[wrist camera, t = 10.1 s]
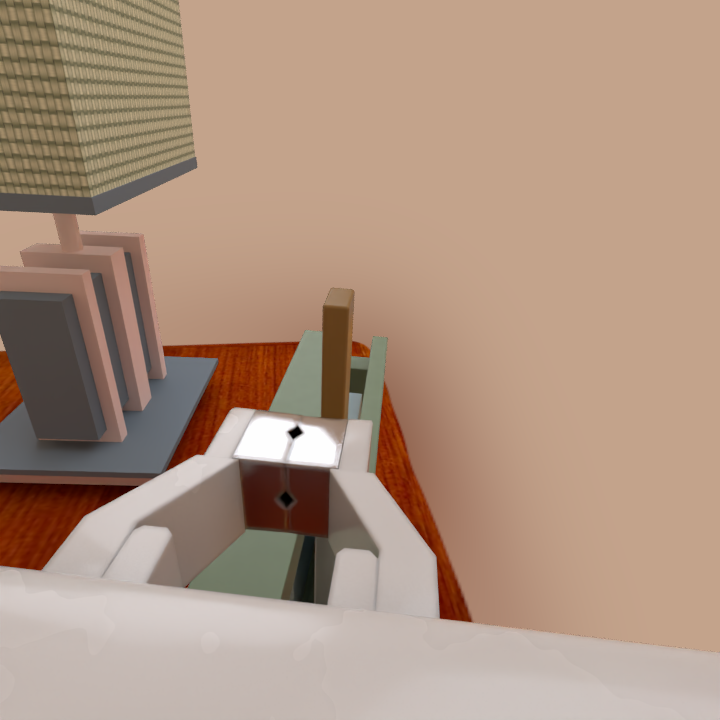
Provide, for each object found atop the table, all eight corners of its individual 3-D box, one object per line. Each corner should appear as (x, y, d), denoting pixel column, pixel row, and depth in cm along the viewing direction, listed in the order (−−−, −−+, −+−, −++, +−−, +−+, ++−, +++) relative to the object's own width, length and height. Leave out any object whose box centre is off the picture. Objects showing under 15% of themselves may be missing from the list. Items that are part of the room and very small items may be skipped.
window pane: (353, 529, 31) (373, 233, 22) (333, 677, 23) (352, 311, 14) (337, 527, 31) (351, 231, 22) (313, 674, 23) (317, 308, 14)
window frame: (372, 506, 35) (387, 337, 28) (326, 1001, 16) (340, 844, 9) (305, 499, 35) (305, 329, 28) (179, 977, 16) (86, 806, 9)
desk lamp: (84, 370, 49) (-22, -30, 33) (221, 375, 50) (182, -15, 34) (-43, 502, 33) (-365, -147, 17) (161, 507, 34) (33, -115, 18)
